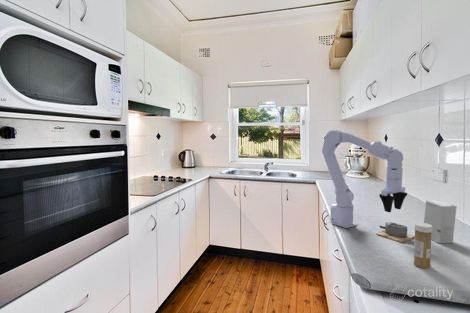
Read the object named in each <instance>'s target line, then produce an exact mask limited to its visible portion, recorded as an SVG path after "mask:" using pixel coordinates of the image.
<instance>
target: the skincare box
mask: <svg viewBox="0 0 470 313" xmlns="http://www.w3.org/2000/svg"><path fill="white" fill-rule="evenodd" d="M456 215H457V206H456V205H454V204H451V203H448V202H445V201H441V200H435V199H433V200H426V201H425V209H424V217H423V218H424V219H423V223H427V224H430V225H432V233H431V241H433V242H436V243H437V244H453V243H454V234H455V233H454V232H455V224H456V223H455V222H456Z"/></svg>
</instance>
